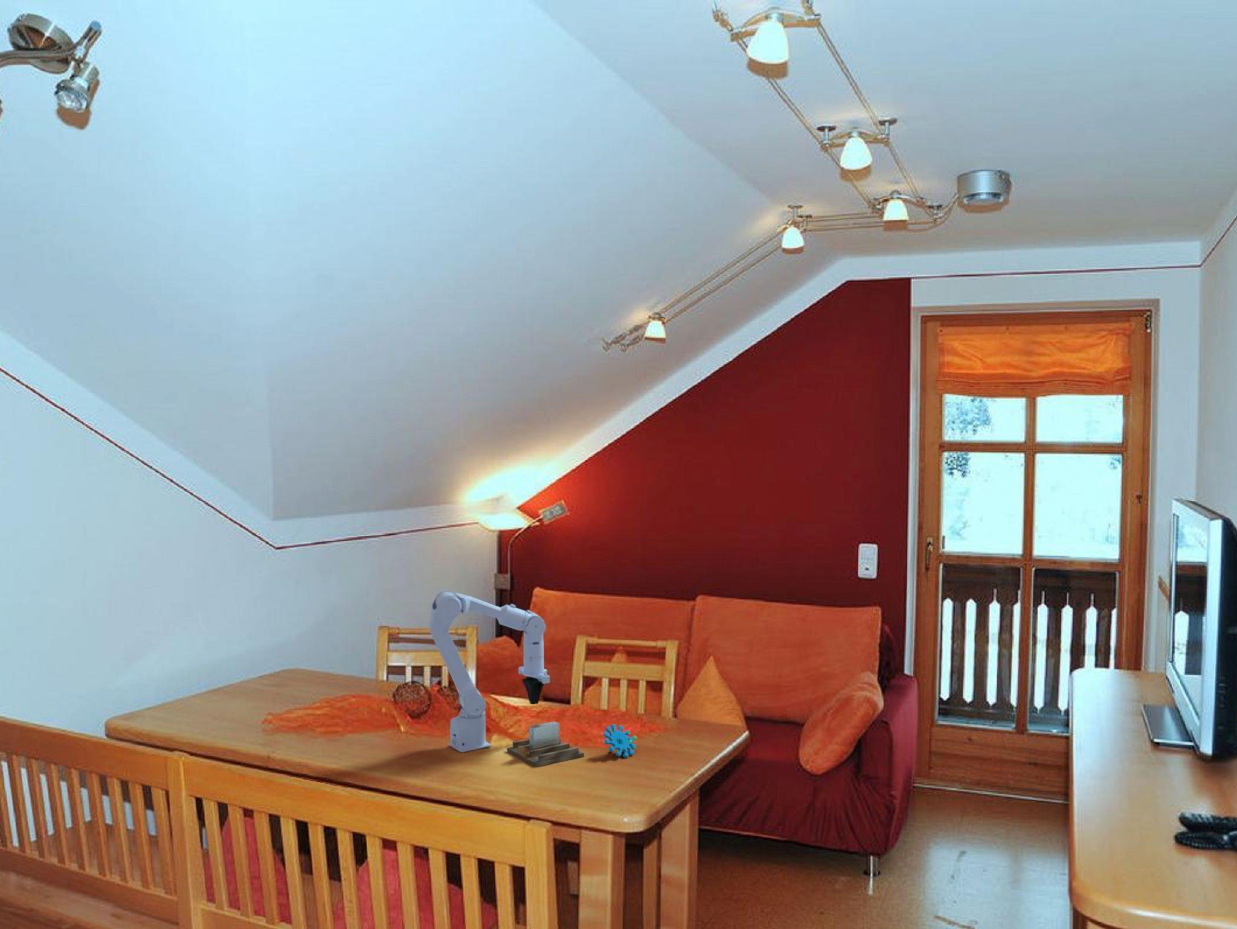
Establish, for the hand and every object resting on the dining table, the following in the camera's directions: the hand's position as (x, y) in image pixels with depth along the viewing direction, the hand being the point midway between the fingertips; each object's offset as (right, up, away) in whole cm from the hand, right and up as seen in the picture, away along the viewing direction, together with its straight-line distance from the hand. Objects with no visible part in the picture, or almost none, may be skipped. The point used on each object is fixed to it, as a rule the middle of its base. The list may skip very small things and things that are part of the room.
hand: (534, 703), depth 296 cm
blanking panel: (+4, -10, -13) cm, 17 cm away
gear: (+25, -11, -13) cm, 30 cm away
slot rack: (+4, -11, -13) cm, 17 cm away
